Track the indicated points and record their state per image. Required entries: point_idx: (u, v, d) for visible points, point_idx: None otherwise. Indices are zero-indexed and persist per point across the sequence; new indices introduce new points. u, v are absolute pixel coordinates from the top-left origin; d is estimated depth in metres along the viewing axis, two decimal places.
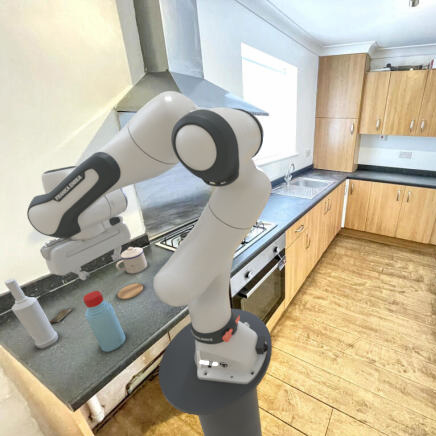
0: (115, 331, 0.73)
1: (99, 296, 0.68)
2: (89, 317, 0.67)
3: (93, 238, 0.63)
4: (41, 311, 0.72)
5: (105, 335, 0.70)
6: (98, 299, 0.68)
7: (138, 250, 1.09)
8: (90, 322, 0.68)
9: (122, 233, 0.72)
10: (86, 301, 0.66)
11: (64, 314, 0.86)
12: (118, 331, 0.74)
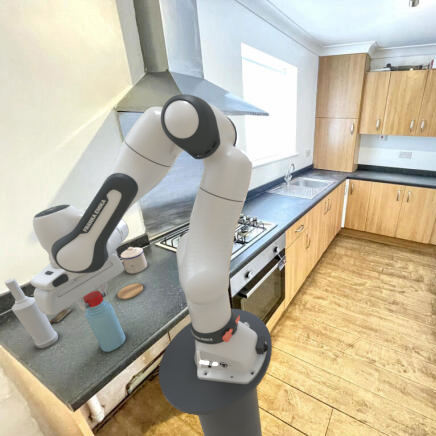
0: (115, 331, 0.73)
1: (99, 296, 0.68)
2: (89, 317, 0.67)
3: None
4: None
5: (105, 335, 0.70)
6: (98, 299, 0.68)
7: (138, 250, 1.09)
8: (90, 322, 0.68)
9: None
10: (86, 301, 0.66)
11: (64, 314, 0.86)
12: (118, 331, 0.74)
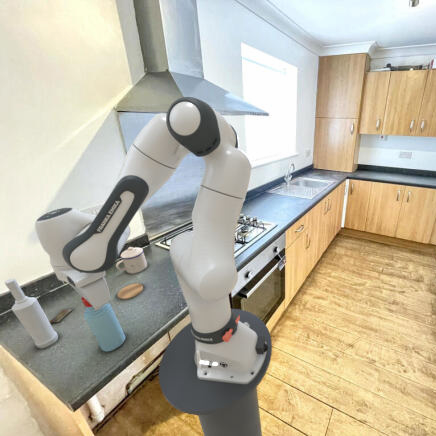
0: (115, 330, 0.72)
1: None
2: (88, 317, 0.67)
3: None
4: (41, 311, 0.72)
5: (104, 335, 0.70)
6: None
7: (138, 250, 1.09)
8: (89, 322, 0.68)
9: None
10: None
11: (64, 314, 0.86)
12: (118, 331, 0.73)
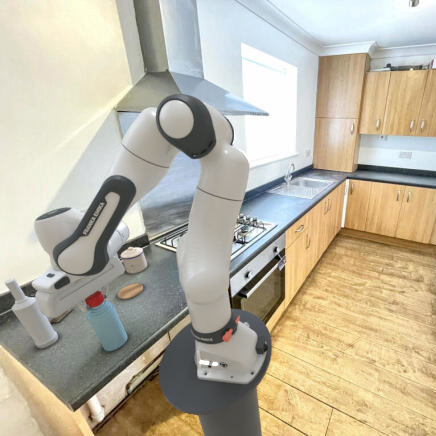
0: (117, 330, 0.73)
1: None
2: (91, 317, 0.67)
3: None
4: None
5: (107, 335, 0.70)
6: None
7: (138, 250, 1.09)
8: (92, 322, 0.68)
9: None
10: (97, 298, 0.67)
11: (64, 314, 0.86)
12: (120, 331, 0.74)
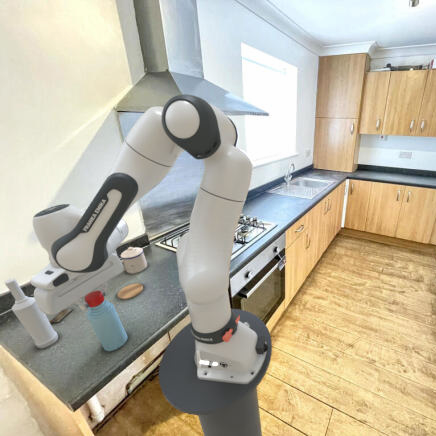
0: (117, 330, 0.73)
1: None
2: (91, 317, 0.67)
3: None
4: None
5: (107, 335, 0.70)
6: None
7: (138, 250, 1.09)
8: (92, 322, 0.68)
9: None
10: None
11: (64, 314, 0.86)
12: (120, 331, 0.74)
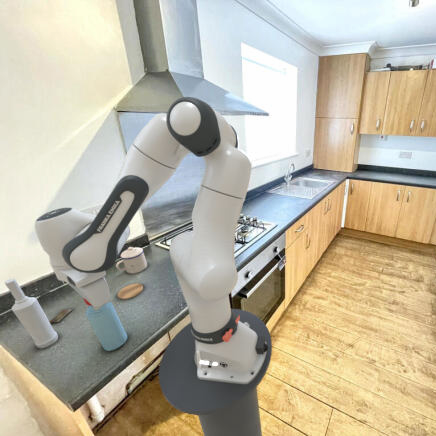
0: (117, 329, 0.73)
1: None
2: (90, 316, 0.67)
3: None
4: (41, 311, 0.72)
5: (106, 334, 0.70)
6: None
7: (138, 250, 1.09)
8: (91, 321, 0.68)
9: None
10: None
11: (64, 314, 0.86)
12: (119, 330, 0.74)
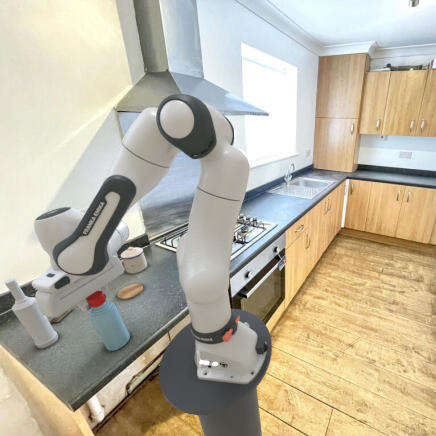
0: (119, 330, 0.73)
1: None
2: (93, 317, 0.67)
3: None
4: None
5: (109, 335, 0.70)
6: None
7: (138, 250, 1.09)
8: (94, 322, 0.68)
9: None
10: None
11: (64, 314, 0.86)
12: (122, 331, 0.74)
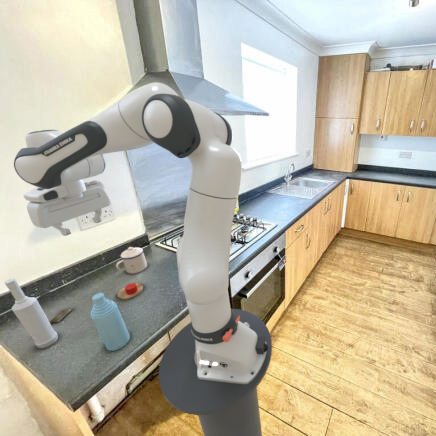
0: (120, 330, 0.73)
1: (129, 290, 0.94)
2: (94, 316, 0.67)
3: None
4: (41, 311, 0.72)
5: (110, 334, 0.71)
6: (128, 291, 0.94)
7: (138, 250, 1.09)
8: (95, 321, 0.68)
9: None
10: None
11: (64, 314, 0.86)
12: (123, 330, 0.74)
